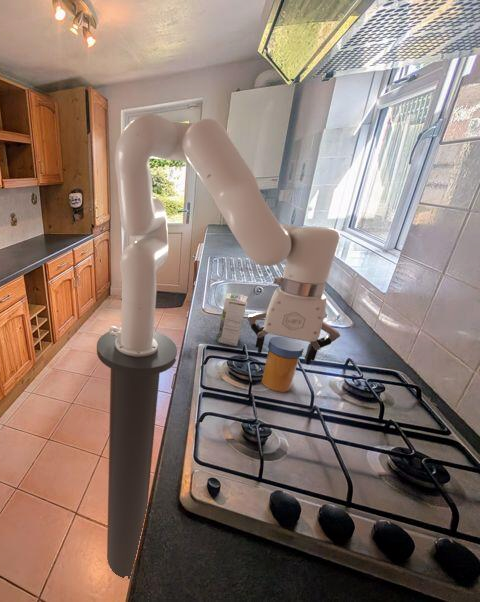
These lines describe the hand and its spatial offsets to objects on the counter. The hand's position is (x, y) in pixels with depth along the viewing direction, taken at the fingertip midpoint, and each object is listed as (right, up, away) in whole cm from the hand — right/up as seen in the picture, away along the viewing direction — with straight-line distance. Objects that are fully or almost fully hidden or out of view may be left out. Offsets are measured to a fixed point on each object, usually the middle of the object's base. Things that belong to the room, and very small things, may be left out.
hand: (282, 355), depth 70 cm
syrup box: (-1, 0, +23) cm, 23 cm away
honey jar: (0, -7, +3) cm, 8 cm away
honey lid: (0, +3, -1) cm, 3 cm away
